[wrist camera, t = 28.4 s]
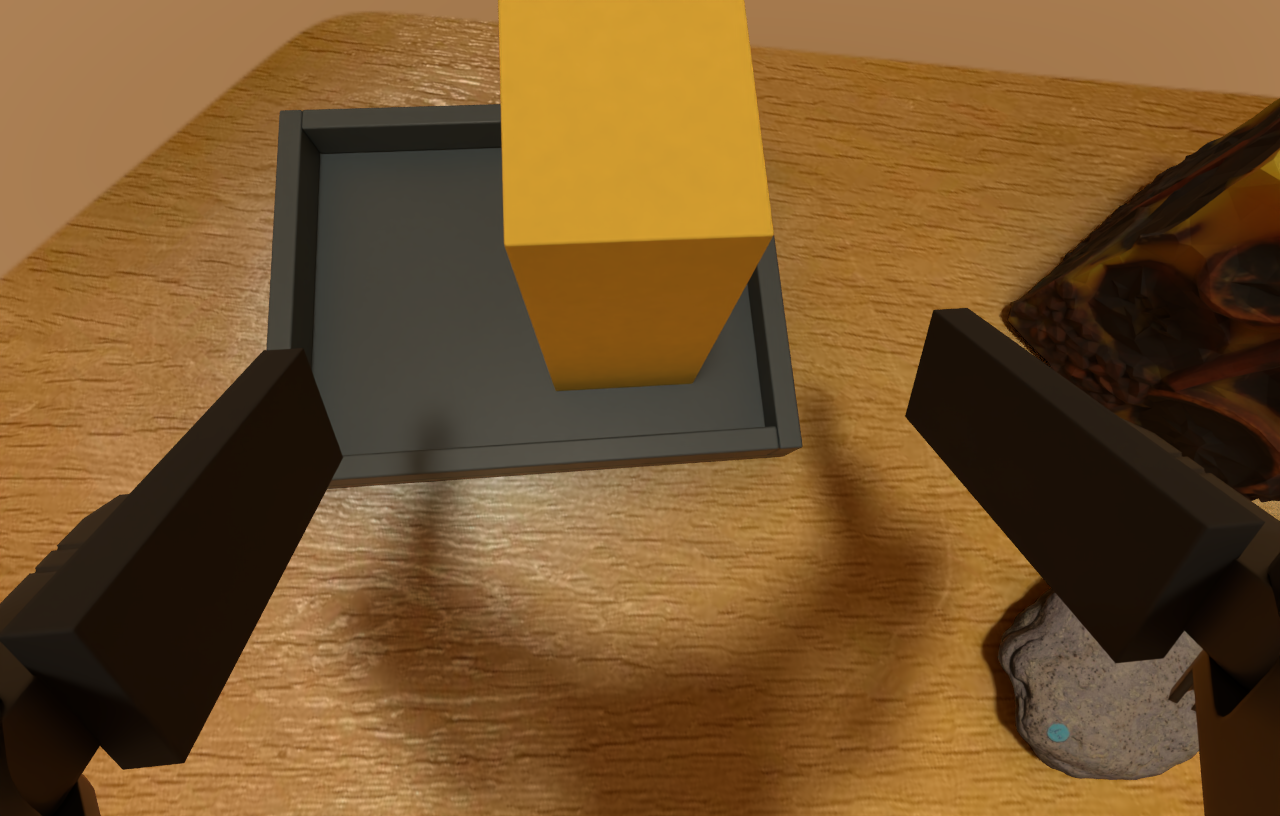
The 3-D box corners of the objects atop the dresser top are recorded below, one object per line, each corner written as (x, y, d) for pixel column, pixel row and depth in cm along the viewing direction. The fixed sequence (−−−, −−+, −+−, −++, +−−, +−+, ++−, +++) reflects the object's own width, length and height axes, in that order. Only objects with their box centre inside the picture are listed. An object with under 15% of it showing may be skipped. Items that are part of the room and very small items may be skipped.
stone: (1232, 746, 21) (1305, 771, 19) (1011, 788, 20) (1060, 818, 18) (1172, 548, 22) (1234, 550, 20) (963, 580, 22) (1004, 585, 19)
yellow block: (555, 391, 22) (503, 245, 11) (547, 191, 23) (495, -107, 12) (693, 383, 22) (774, 235, 11) (675, 187, 24) (731, -107, 13)
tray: (294, 491, 21) (257, 485, 19) (309, 149, 24) (279, 109, 22) (783, 456, 22) (803, 447, 20) (742, 135, 25) (755, 95, 23)
